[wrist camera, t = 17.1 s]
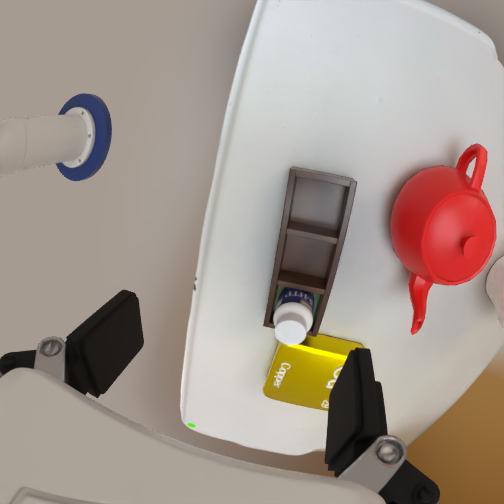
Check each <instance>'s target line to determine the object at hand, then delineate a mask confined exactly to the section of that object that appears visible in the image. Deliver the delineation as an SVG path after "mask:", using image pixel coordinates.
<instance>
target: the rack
mask: <svg viewBox="0 0 504 504" xmlns="http://www.w3.org/2000/svg"><path fill="white" fill-rule="evenodd" d="M356 186H357V182H356V181H355V180H354V179H353V178H348V177H344V176H339V175H334V174H330V173H325V172H320V171H315V170H309V169H304V168H299V167H292V168H290V172H289V178H288V185H287V191H286V198H285V204H284V210H283V216H282V223H281V229H280V235H279V241H278V246H277V252H276V258H275V264H274V270H273V275H272V281H271V287H270V292H269V298H268V303H267V308H266V314H265V319H264V324H263V326H265V327H270V328H274V329H275V325H274V321H273V317H274V312H275V309H276V306H277V303H278V299H279V296H280V293H281V291H282V290H283V289H284V288H285V287H288V288H293V289H298V290H303V291H308V292H312V293H313V294H314V313H313V323H312V326H311V328H310V330H309V331H308V332H307V333H306V335H308V336H313V337H316V336H317V334H318V330H319V327H320V324H321V321H322V318H323V315H324V312H325V309H326V305H327V302H328V299H329V295H330V292H331V289H332V285H333V282H334V278H335V275H336V271H337V267H338V263H339V260H340V256H341V252H342V248H343V244H344V240H345V236H346V232H347V228H348V223H349V219H350V214H351V210H352V205H353V200H354V196H355V191H356Z"/></svg>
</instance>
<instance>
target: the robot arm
mask: <svg viewBox="0 0 504 504" xmlns="http://www.w3.org/2000/svg"><path fill="white" fill-rule="evenodd" d="M94 142H95V123H94V120H93V117H92V115H91V113H90V112H89V111H88V110H87V109H85V108H82V107H75V108H72V109H70V110H69V111H68V112H66V114H65V115H43V116H27V117H14V118H9V119H6V120H4V121H2V122H1V123H0V177H2V176H5V175H8V174H12V173H15V172H19V171H24V170H28V169H32V168H36V167H41V166H45V165H50V164H55V163H60V162H62V163H63V164H64V165H65V166H67V167H70V168H75V167H79V166H81V165H83V164H84V163H85V162H86V161H87V159H88V158H89V156H90V154H91V152H92V150H93V147H94ZM66 338H67V341H66V342H64V341H63V340H62V339H61V338H59V337H48V338H45V339H43V340H42V341H41V342H40V343H39V345H38V347H37V350H30V351H20V352H10V353H7V354H5V355H4V356H2V357H1V359H0V504H440V503H439V502H438V501H439V497H440V491H439V488H438V486H437V485H436V484H435V483H434V482H433V481H432V480H431V479H429V478H428V477H427V476H425V475H424V474H423V473H422V472H420V471H419V470H418V469H417V468H415V467H414V466H413V465H412V464H411V463H409V462H408V461H407V460H406V456H407V449H406V446H405V444H404V442H403V441H402V440H401V439H399V438H398V437H396V436H392V435H388V433H387V423H386V414H385V406H384V399H383V392H382V386H381V383H380V382H378V381H375V377H374V371H373V364H372V358H371V352H370V349H366V348H359V347H356V348H355V350H351V351H350V352H349V354H348V357H347V359H346V361H345V363H344V365H343V367H342V369H341V371H340V374H339V376H338V378H337V380H336V382H335V384H334V386H333V388H332V390H331V392H330V395H329V409H328V426H327V439H326V451H325V464H328V470H330V471H335V476H336V477H337V478H332V477H328V476H321V475H314V474H308V473H301V472H294V471H288V470H283V469H278V468H273V467H268V466H263V465H258V464H253V463H249V462H245V461H241V460H237V459H233V458H230V457H226V456H223V455H219V454H216V453H213V452H209V451H206V450H203V449H200V448H197V447H194V446H191V445H188V444H186V443H183V442H180V441H178V440H175V439H173V438H170V437H168V436H165V435H163V434H160V433H158V432H155V431H153V430H151V429H149V428H146V427H144V426H142V425H140V424H138V423H136V422H134V421H131V420H129V419H127V418H125V417H123V416H121V415H119V414H117V413H116V412H114V411H112V410H110V409H108V408H106V407H104V406H103V405H101V404H99V403H97V402H96V401H94V400H92V399H90V398H88V397H87V396H86V393H87V392H88V393H89V394H91V395H93V396H94V397H96V398H98V397H99V396H100V394H104V393H105V392H106V391H107V390H108V389H109V387H110V386H111V385H112V384H113V382H114V381H115V380H116V379H117V377H118V376H119V375H120V374H121V373H122V371H123V370H124V369H125V368H126V367H127V365H128V364H129V363H130V362H131V360H132V359H133V358H134V357H135V356H136V354H137V353H138V352H139V351H140V350H141V348H142V347H143V344H144V338H143V331H142V324H141V316H140V308H139V300H138V298H137V297H136V294H135V293H133V292H130V291H127V290H122V291H120V292H119V293H118V294H117V295H115V296H114V297H113V298H112V299H111V300H109V301H108V302H107V303H106V304H105V305H103V306H102V307H101V308H100V309H99V310H97V311H96V312H95V313H94V314H93V315H92V316H90V317H89V318H88V319H87V320H86V321H84V322H83V323H82V324H81V325H80V326H79V327H77V328H76V329H75V330H74V331H73V332H72V333H71V334H69V335H68V336H67V337H66Z"/></svg>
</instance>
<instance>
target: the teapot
mask: <svg viewBox="0 0 504 504" xmlns="http://www.w3.org/2000/svg"><path fill="white" fill-rule="evenodd" d="M475 157H477V158H476V163H475V167H474V171H473V175H472V178H470V177H469V176H467V175H466V171H467V168H468V165H469V163H470V162H471V161H472V160H473V159H474V158H475ZM486 164H487V151H486V149H485V148H484V147H483V146H481V145H480V144H473V145H471V146H470V147H469V148H467V149H466V150H465V152H464V153H463V154H462V156H461V157H460V158H459V161H458V163H457V166H456V169H454V168H451V167H447V166H443V165H441V166H436V167H431V168H427V169H423V170H421V171H420V172H418V173H417V174H416V175H415V176H413V177H412V178H411V179H409V180H408V181H407V182H406V183H405V184H404V185H403V187H402V189H401V191H400V193H399V194H398V196H397V198H396V200H395V201H394V204H393V210H392V215H391V221H390V232H391V238H392V244H393V250H394V251H395V253H396V254H397V256H398V258H399V259H400V261H401V263H402V264H403V266H404V267H405V268H406V269H408V270H409V271H411V275H410V279H409V284H408V285H409V292H410V299H411V302H412V306H413V310H414V313H413V322H412V328H411V333H412V335H413V334H416V333H417V332H418V331H419V329H420V328H421V327H422V324H423V322H424V319H425V312H426V300H427V296H428V291H429V290H430V288H431V286H432V284H433V283H435V284H440V285H458V284H461V283H464V282H467V281H470V280H471V279H472V278H474V277H475V276H476V275H477V274H478V273H480V272H481V271H482V270H483V268H484V267H485V265H486V263H487V262H488V260H489V259H490V257H491V255H492V252H493V248H494V245H495V241H496V220H495V217H494V215H493V212H492V209H491V207H490V205H489V202H488V200H487V198H486V196H485V194H484V192H483V190H482V189H481V185H482V182H483V178H484V174H485V169H486Z"/></svg>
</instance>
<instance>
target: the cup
mask: <svg viewBox="0 0 504 504" xmlns="http://www.w3.org/2000/svg"><path fill="white" fill-rule="evenodd" d="M486 292H487V294H488V296H489V297H490V298H491V300H492V302H493V304H494V306H495V308H496V310H497V313H498V320H499V322H500V324H501V326H502V328H503V330H504V256H503V257H501V258H500V259H498V260H497V261H496V262H495V264H494V265H493V266H492V268H491V270H490V272H489V274H488V276H487V281H486Z"/></svg>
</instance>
